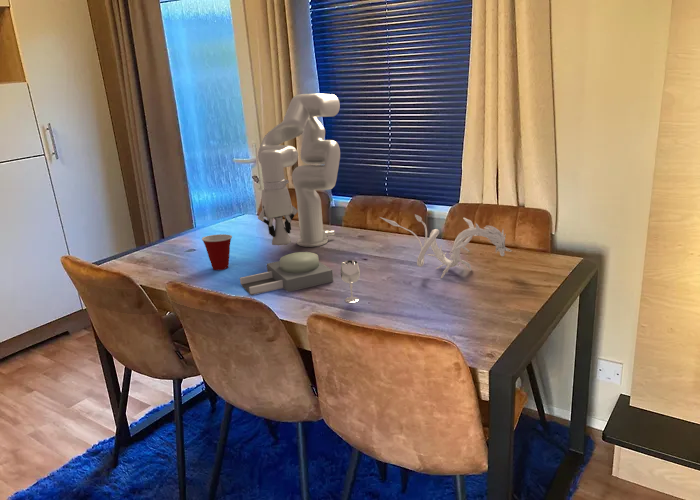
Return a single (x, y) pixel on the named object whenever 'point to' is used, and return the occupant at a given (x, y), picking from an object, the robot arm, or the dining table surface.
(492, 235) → the white dragon statue
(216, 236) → the plastic cup
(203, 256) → the dining table surface
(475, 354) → the dining table surface
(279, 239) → the flask
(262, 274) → the two-pronged domed base
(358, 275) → the wineglass
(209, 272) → the dining table surface
